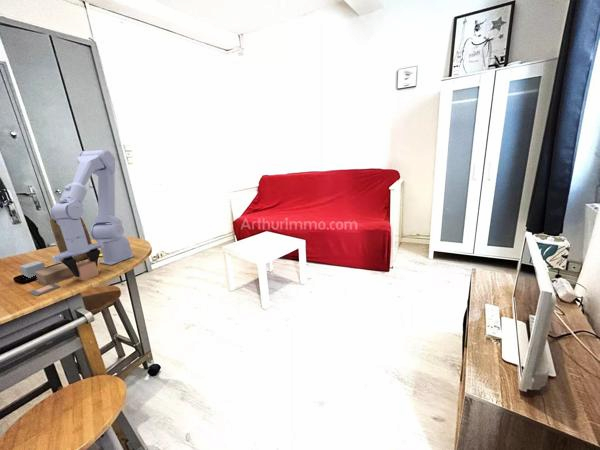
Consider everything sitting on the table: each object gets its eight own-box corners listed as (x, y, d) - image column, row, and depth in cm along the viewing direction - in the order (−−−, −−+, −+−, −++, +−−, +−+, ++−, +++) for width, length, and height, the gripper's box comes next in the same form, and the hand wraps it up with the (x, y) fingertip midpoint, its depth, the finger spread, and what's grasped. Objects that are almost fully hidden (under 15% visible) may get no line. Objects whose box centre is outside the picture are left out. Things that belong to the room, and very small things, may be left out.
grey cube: (41, 272, 101) (37, 260, 100) (47, 274, 99) (43, 262, 98) (24, 278, 97) (19, 266, 96) (30, 280, 95) (25, 268, 93)
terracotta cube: (91, 272, 98) (87, 260, 97) (99, 274, 96) (95, 261, 94) (75, 278, 94) (71, 265, 92) (83, 280, 91) (79, 267, 90)
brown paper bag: (62, 265, 107) (46, 217, 102) (64, 259, 113) (49, 214, 108) (95, 257, 113) (81, 212, 108) (95, 252, 119) (82, 209, 114)
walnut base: (66, 272, 100) (62, 263, 99) (75, 276, 96) (72, 266, 95) (38, 282, 94) (34, 272, 92) (47, 286, 90) (43, 275, 89)
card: (51, 284, 90) (51, 282, 90) (60, 287, 88) (59, 285, 88) (28, 292, 85) (28, 291, 85) (37, 296, 83) (36, 294, 83)
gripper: (54, 245, 83) (67, 284, 86) (104, 231, 95) (114, 266, 99) (44, 243, 86) (57, 280, 89) (93, 230, 98) (103, 263, 102)
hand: (86, 273), depth 94 cm, fingers closed on terracotta cube, 5 cm apart
